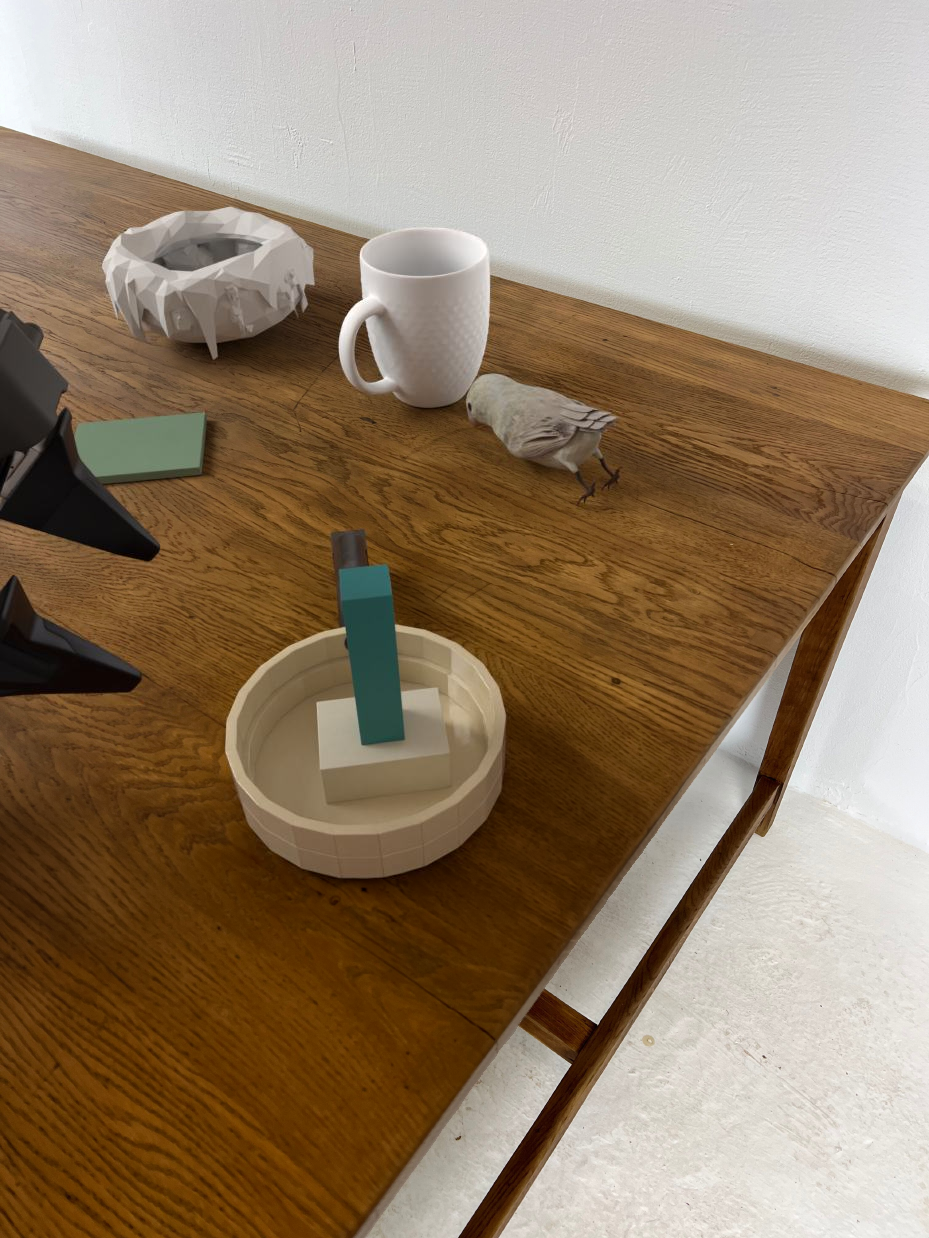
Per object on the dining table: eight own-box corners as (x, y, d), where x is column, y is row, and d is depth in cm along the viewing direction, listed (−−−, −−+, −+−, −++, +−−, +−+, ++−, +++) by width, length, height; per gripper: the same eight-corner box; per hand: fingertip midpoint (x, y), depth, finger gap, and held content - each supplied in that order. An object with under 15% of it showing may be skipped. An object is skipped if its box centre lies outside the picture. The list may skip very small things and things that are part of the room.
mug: (391, 452, 79) (379, 303, 71) (313, 405, 85) (294, 263, 77) (514, 391, 87) (517, 249, 78) (435, 352, 93) (429, 216, 84)
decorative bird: (494, 415, 84) (495, 336, 79) (630, 491, 75) (641, 407, 70) (449, 436, 81) (446, 356, 76) (584, 518, 72) (591, 433, 67)
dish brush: (326, 804, 52) (292, 624, 43) (322, 735, 55) (290, 557, 46) (451, 787, 53) (444, 607, 43) (439, 721, 56) (430, 542, 47)
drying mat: (64, 488, 76) (61, 480, 76) (80, 431, 83) (77, 423, 82) (201, 475, 77) (199, 467, 77) (207, 419, 84) (205, 411, 83)
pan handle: (345, 691, 59) (337, 636, 56) (335, 571, 68) (328, 519, 65) (383, 686, 59) (377, 632, 56) (368, 568, 68) (363, 515, 65)
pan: (236, 905, 48) (219, 855, 45) (243, 690, 59) (230, 638, 56) (528, 864, 49) (530, 813, 46) (480, 661, 61) (480, 610, 58)
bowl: (87, 324, 99) (58, 227, 92) (260, 274, 108) (245, 183, 101) (170, 401, 86) (144, 296, 80) (357, 338, 95) (348, 238, 89)
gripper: (-235, 406, 26) (245, 648, 34) (-60, 184, 39) (252, 397, 48) (-369, 647, 30) (84, 808, 39) (-170, 373, 44) (133, 537, 52)
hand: (147, 613), depth 44 cm, fingers open, 9 cm apart
